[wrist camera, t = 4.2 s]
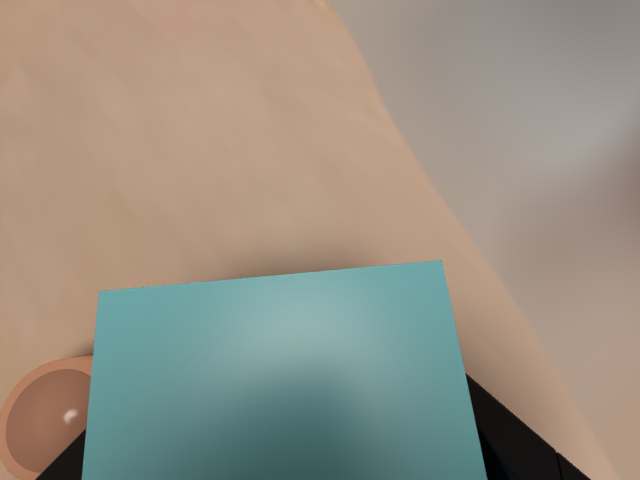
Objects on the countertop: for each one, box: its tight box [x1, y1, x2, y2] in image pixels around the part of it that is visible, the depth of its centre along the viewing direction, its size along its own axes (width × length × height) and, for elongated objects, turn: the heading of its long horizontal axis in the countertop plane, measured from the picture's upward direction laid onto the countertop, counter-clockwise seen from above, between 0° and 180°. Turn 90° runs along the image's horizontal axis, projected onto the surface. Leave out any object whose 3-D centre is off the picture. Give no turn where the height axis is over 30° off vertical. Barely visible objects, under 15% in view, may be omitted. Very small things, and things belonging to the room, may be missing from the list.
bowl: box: [0, 355, 93, 480], centre depth 13 cm, size 4×4×2 cm
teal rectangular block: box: [82, 260, 487, 480], centre depth 10 cm, size 7×7×9 cm
